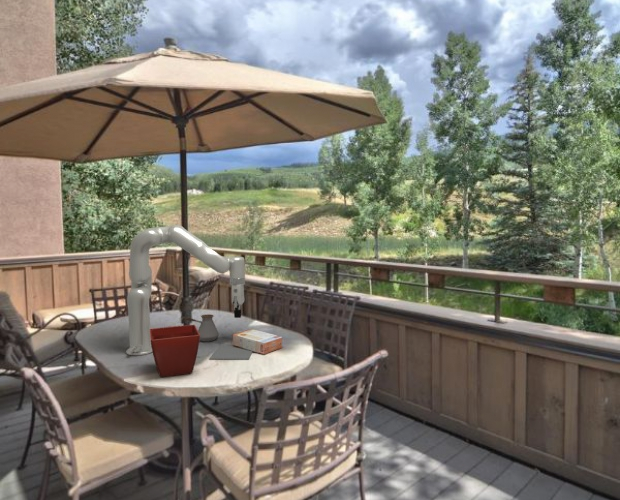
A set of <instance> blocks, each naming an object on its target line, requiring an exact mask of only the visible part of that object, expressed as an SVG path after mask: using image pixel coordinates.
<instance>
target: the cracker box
mask: <svg viewBox="0 0 620 500" xmlns="http://www.w3.org/2000/svg"><path fill="white" fill-rule="evenodd" d="M232 344H233V345H234V346H237V347H241V348H244V349H247V350H251V351H253V352H255V353H258V354H261V355H265V354H266V355H267V354H269V353H272V352H274V351H276V350H279V349H282V348H283V336H280V335H276V334H272V333H270V332H269V333H268V332H265V331H261V330H257V329H254V328H250V329H247V330H243V331H241V332H237V333H234V334H232Z"/></svg>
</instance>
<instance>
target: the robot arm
mask: <svg viewBox="0 0 620 500" xmlns="http://www.w3.org/2000/svg"><path fill="white" fill-rule="evenodd" d="M171 243H173V244H175V246H178V247H179V248H181V249H182V250H184V251H186V253H189V254H190V255H191V256H192V257H194V258H195V259H197V260H199V262H202V263H203V264H204V265H206V266H208V268H211V269H212V270H214V271H215V272H216V273H218V274H225V273H227V272H228V271H229V285H230V286H231V304H232V305H233V310H234V311H233V314H234V318H235V319H239V318H242V305H243V304H244V302H245V287H244V285H246V276H245V275H246V274H245V273H246V272H245V266H246V265H245V263H246V262H245V258H244V257H243V256H223V255H221V254H219V253H218V252H216V251H215V250H213V249H212V248H211V247H210V246H209V245H207V244H206V242H204V241H203V240H202V239H200V238H199V237H197V236H196V235H194V234H193V233H192V232H190V231H188V230H187V229H185V227H183V226H182V225H181V224H174V225H167V226H158V227H150V228H149V227H148V228H146V229H144V230H142V231H139V233H137V234H136V235H135V236H134V238H133V239H132V241H131V243H130V249H129V250H130V252H129V268H128V269H129V270H128V276H129V279H130V281H131V282H130V284H131V285H130V288H131V289H130V290H129V292H128V293H127V297H126V303H127V313H128V315H127V316H128V334H129V335H128V338H129V340H128V341H129V347H128V349H126V351H125V352H126V355H129V356H143V355H149V354H150V353H153V352H152V347H151V340H150V329H151V313H150V312H151V311H150V299H151V296H152V286H153V285H152V280H153V279H152V278H153V275H152V274H153V273H152V267H151V266H150V250H151V248H152V247H154V246H157V245H164V244H171Z"/></svg>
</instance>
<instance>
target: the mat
mask: <svg viewBox="0 0 620 500" xmlns="http://www.w3.org/2000/svg"><path fill="white" fill-rule="evenodd" d="M253 352H254V351H251V350H247V349H244V348H241V347H237V346H234V345H233V343H231V344H229V343H226V344H224V343H223V344H222V343H220V344H219V345H218V347H217V348H216V349H215V350H214V351H213V353H212V354H211V355H210V357H209V358H208V360H210V361H215V360H216V361H219V360H220V361H225V360H226V361H232V360H233V361H235V360H236V361H249V360H250V358H251V356H252V354H253Z"/></svg>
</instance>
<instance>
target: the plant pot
mask: <svg viewBox="0 0 620 500" xmlns="http://www.w3.org/2000/svg"><path fill="white" fill-rule="evenodd" d="M198 330H199V329H198V328H197V326H196V325H195V324H189V325H188V324H187V325H176V326H175V325H174V326H167V327H166V326H165V327H155V328H150V340H151V347H152V352H151V353H152V355H153V359H154V362H155V367H156V370H157V373H158V376H159V377H161V378H163V377H171V376H179V375H186V374H187V375H189V374H192V373H193V372H194V368H195V364H196V360H197V356H198V351H199V345H200V334H199V332H198Z"/></svg>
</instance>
